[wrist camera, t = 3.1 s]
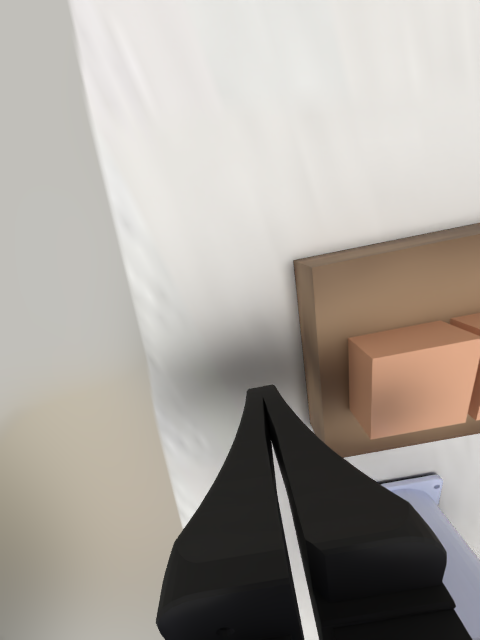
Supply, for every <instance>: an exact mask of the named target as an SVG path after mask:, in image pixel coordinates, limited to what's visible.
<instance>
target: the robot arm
mask: <svg viewBox="0 0 480 640" xmlns="http://www.w3.org/2000/svg"><path fill="white" fill-rule="evenodd" d="M271 441H272V444H273V448H274V451H275V454H276V458H277V461H278V464H279V468H280V471H281V474H282V478H283V481H284V484H285V488H286V491H287V495H288V499H289V503H290V508H291V512H292V517H293V521H294V526H295V530H296V535H297V540H298V544H299V549H300V553H301V558H302V562H303V567H304V571H305V576H306V581H307V585H308V590H309V594H310V599H311V604H312V608H313V613H314V618H315V622H316V627H317V631H318V636H319V640H480V560H479V559H478V557H477V556H476V555H475V553H474V552H473V551H472V550H471V548H470V547H469V546H468V544H467V543H466V542H465V541H464V539H463V538H462V537H461V535H460V534H459V533H458V531H457V530H456V529H455V528H454V526H453V525H452V524H451V522H450V521H449V520H448V519H447V517H446V516H445V515H444V513H443V512H442V511H441V510H440V508H439V507H438V504H439V499H440V494H441V489H442V484H443V480H442V479H441V477H440V476H439V475H430V476H424V477H419V478H413V479H407V480H401V481H396V482H390V483H384V484H379V483H377V482H376V481H374V480H373V479H371V478H370V477H368V476H367V475H365V474H364V473H362V472H361V471H360V470H358V469H357V468H356V467H354V466H353V465H352V464H350V463H349V462H348V461H346V460H345V459H344V458H342V457H341V456H340V455H338V454H337V453H336V452H334V451H333V450H332V449H331V448H330V447H329V446H327V445H326V444H325V443H324V442H323V441H322V440H321V439H319V438H318V437H317V436H316V435H315V434H314V433H313V432H312V431H311V430H310V429H309V428H308V427H307V426H306V425H305V424H304V423H303V422H302V421H301V420H300V419H299V417H298V416H297V415H296V414H295V413H294V412H293V411H292V409H291V408H290V407H289V406H288V404H287V403H286V402H285V401H284V399H283V398H282V396H281V395H280V393H279V392H278V390H277V389H276V387H275V386H274V385H268V386H263V387H258V388H252V389H248V391H247V396H246V402H245V407H244V411H243V415H242V418H241V422H240V425H239V428H238V431H237V434H236V437H235V439H234V442H233V444H232V447H231V449H230V451H229V454H228V456H227V458H226V460H225V462H224V464H223V466H222V468H221V470H220V472H219V474H218V476H217V478H216V480H215V481H214V483H213V485H212V487H211V488H210V490H209V492H208V493H207V495H206V496H205V498H204V500H203V501H202V503H201V505H200V506H199V508H198V509H197V511H196V512H195V514H194V515H193V517H192V518H191V519H190V521H189V522H188V524H187V525H186V527H185V528H184V529H183V531H182V532H181V534H180V535H179V536H178V538H177V539H176V541H175V542H174V545H173V548H172V551H171V554H170V558H169V561H168V565H167V568H166V572H165V576H164V580H163V584H162V590H161V595H160V601H159V607H158V612H157V618H156V624H157V626H158V629H159V631H160V633H161V635H162V636H163V637H164V638H165V640H304V635H303V630H302V625H301V619H300V614H299V609H298V603H297V598H296V593H295V588H294V582H293V577H292V572H291V566H290V561H289V556H288V550H287V545H286V540H285V534H284V529H283V524H282V518H281V513H280V508H279V502H278V496H277V489H276V480H275V471H274V462H273V453H272V444H271Z"/></svg>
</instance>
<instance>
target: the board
mask: <svg viewBox="0 0 480 640" xmlns="http://www.w3.org/2000/svg"><path fill="white" fill-rule="evenodd" d="M293 261H294V271H295V280H296V290H297V300H298V310H299V319H300V329H301V339H302V348H303V358H304V368H305V378H306V387H307V397H308V407H309V416H310V424H311V426H312V428H313V431H314V433H315V435H316V436H317V437H318V438H319V439H321V440H322V441H323V442H324V443H325V444H326V445H327V446H329V447H330V448H331V449H332V450H333V451H334V452H336V453H337V454H338V455H340V456H341V457H342V458H344V457H350V456H355V455H361V454H366V453H372V452H378V451H383V450H389V449H394V448H400V447H406V446H411V445H417V444H422V443H428V442H434V441H439V440H445V439H450V438H456V437H462V436H467V435H473V434H478V433H480V420H477V421H476V420H475V419H473V418H472V417H471V416H469V415H468V414H467V418H466V423H460V424H455V425H449V426H444V427H438V428H433V429H427V430H421V431H416V432H410V433H405V434H399V435H394V436H388V437H383V438H377V439H370V438H369V437H368V435H367V434H366V432H365V431H364V429H363V428H362V426H361V425H360V424H359V422H358V421H357V419H356V418H355V416H354V415H353V414H352V412H351V411H350V406H349V357H348V338H351V337H356V336H361V335H366V334H371V333H377V332H382V331H387V330H392V329H398V328H403V327H408V326H413V325H418V324H424V323H429V322H434V321H439V320H441V321H443V322H446V323H448V324H450V319H451V318H455V317H460V316H465V315H471V314H476V313H480V223H477V224H472V225H467V226H462V227H457V228H452V229H447V230H442V231H437V232H432V233H427V234H422V235H417V236H412V237H407V238H402V239H397V240H392V241H387V242H383V243H378V244H373V245H368V246H363V247H358V248H353V249H348V250H343V251H338V252H333V253H328V254H323V255H318V256H313V257H308V258H303V259H298V260H293Z"/></svg>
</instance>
